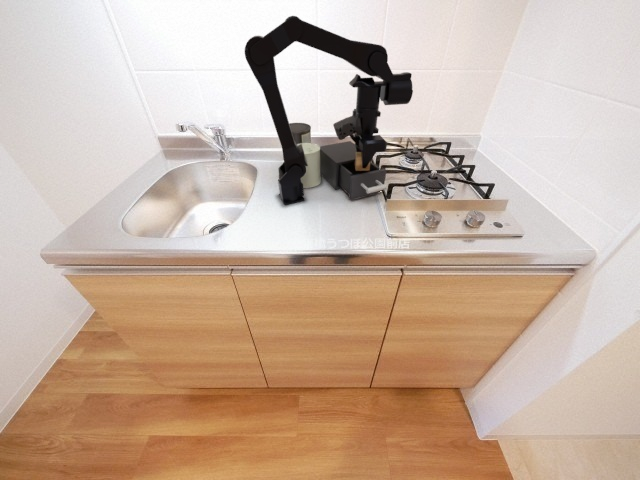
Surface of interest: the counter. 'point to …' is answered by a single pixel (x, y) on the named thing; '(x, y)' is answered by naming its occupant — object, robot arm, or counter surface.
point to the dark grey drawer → (361, 180)
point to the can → (311, 165)
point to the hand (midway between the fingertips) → (361, 164)
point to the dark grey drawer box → (335, 160)
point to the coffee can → (301, 132)
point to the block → (360, 163)
